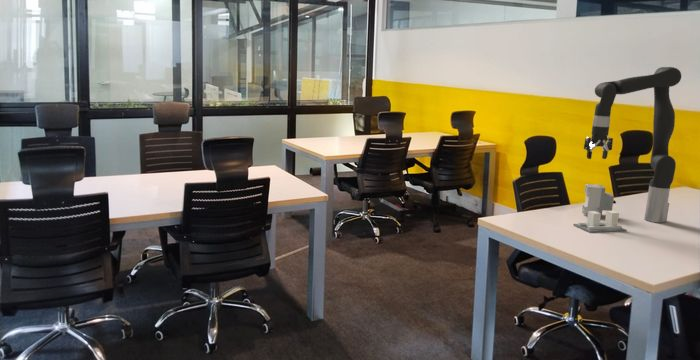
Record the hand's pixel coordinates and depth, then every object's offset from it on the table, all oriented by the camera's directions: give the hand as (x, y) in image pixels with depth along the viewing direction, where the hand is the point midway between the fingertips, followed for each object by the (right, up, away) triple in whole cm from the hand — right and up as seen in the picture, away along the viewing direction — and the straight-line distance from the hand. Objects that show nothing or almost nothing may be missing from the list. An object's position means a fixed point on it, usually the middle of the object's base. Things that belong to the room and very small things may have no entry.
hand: (596, 158), depth 295 cm
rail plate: (-3, -33, -11) cm, 35 cm away
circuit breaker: (+6, -28, +14) cm, 32 cm away
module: (-7, -32, -12) cm, 35 cm away
